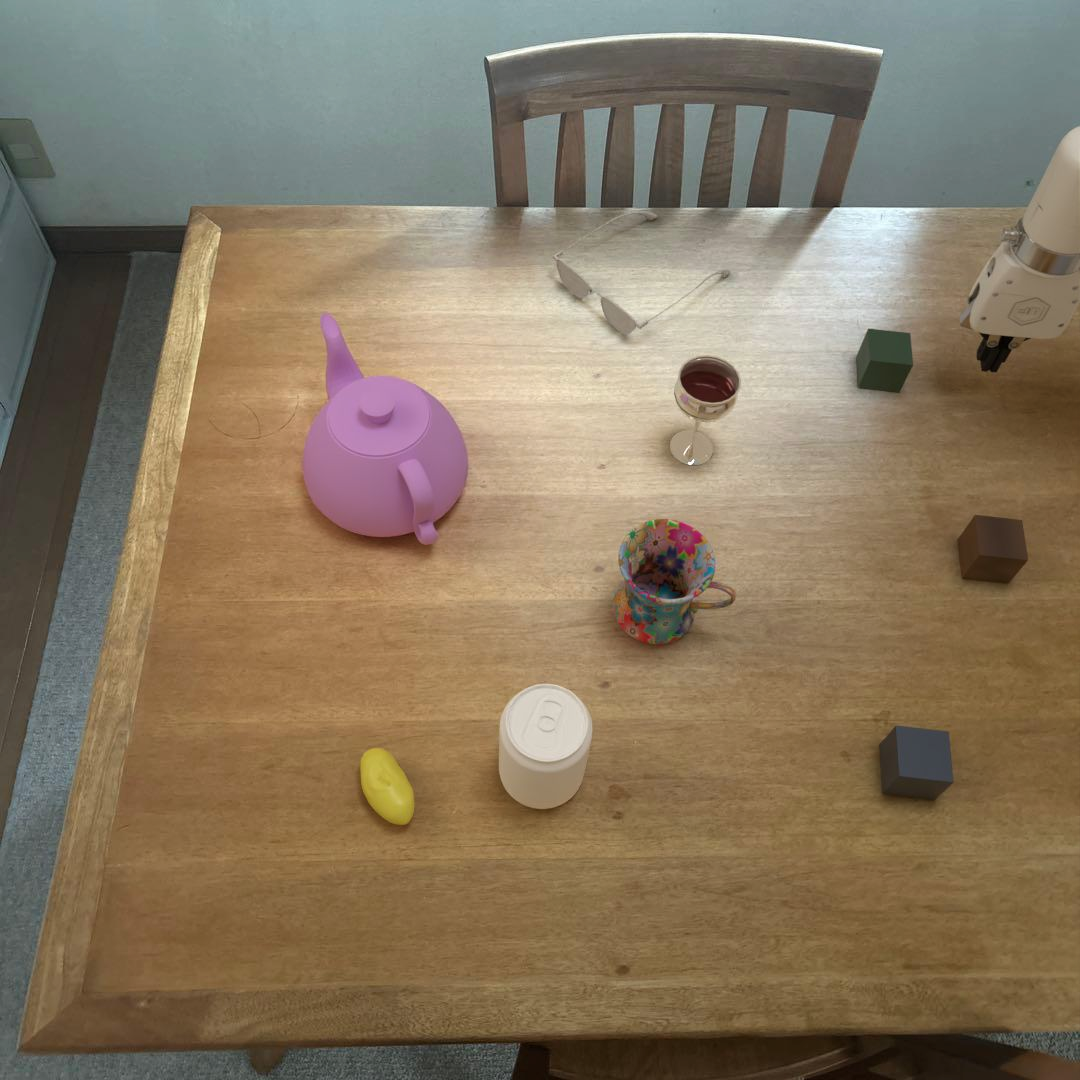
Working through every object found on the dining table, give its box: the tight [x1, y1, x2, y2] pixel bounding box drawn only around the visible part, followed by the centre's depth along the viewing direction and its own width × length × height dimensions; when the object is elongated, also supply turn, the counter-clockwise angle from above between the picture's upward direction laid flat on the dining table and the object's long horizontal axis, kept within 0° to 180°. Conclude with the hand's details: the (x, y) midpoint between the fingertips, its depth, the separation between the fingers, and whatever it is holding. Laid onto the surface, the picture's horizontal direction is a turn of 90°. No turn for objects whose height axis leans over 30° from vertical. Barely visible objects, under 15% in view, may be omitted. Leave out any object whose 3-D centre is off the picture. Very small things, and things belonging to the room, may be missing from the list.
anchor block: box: [879, 725, 954, 801], centre depth 102 cm, size 5×5×5 cm
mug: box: [612, 518, 737, 645], centre depth 108 cm, size 12×9×11 cm
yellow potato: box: [359, 747, 415, 826], centre depth 99 cm, size 4×8×4 cm, turn 26°
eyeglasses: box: [552, 210, 731, 336], centre depth 136 cm, size 15×18×4 cm
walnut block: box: [957, 514, 1029, 584], centre depth 115 cm, size 5×5×5 cm
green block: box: [855, 328, 914, 393], centre depth 128 cm, size 5×5×5 cm
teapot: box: [302, 312, 469, 545], centre depth 114 cm, size 25×18×14 cm
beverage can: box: [498, 683, 594, 810], centre depth 98 cm, size 8×8×12 cm
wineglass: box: [669, 354, 742, 466], centre depth 118 cm, size 7×7×12 cm
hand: (987, 362), depth 126 cm, fingers closed
